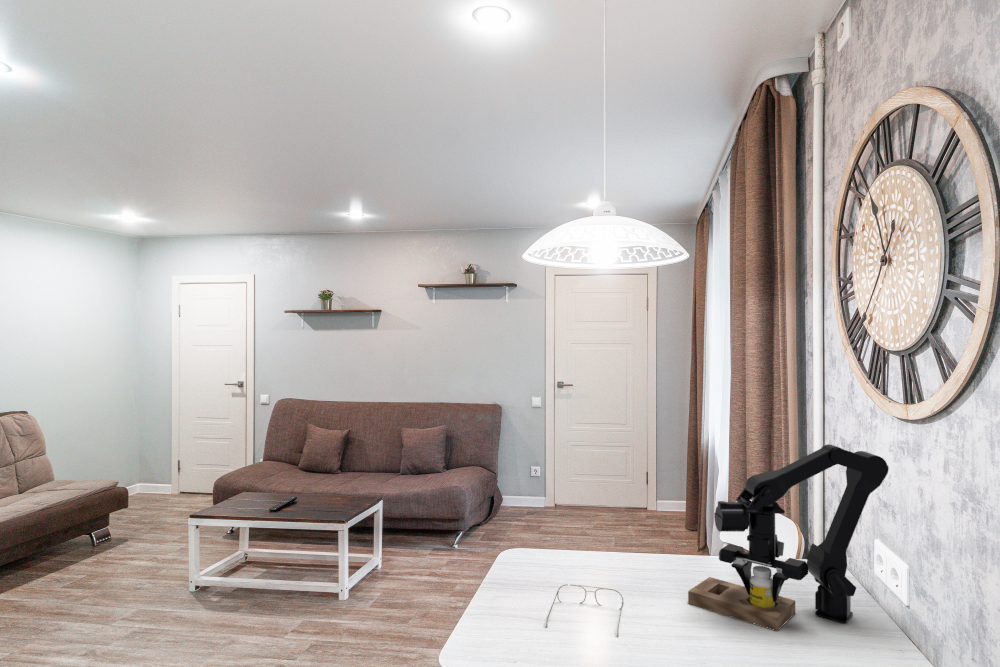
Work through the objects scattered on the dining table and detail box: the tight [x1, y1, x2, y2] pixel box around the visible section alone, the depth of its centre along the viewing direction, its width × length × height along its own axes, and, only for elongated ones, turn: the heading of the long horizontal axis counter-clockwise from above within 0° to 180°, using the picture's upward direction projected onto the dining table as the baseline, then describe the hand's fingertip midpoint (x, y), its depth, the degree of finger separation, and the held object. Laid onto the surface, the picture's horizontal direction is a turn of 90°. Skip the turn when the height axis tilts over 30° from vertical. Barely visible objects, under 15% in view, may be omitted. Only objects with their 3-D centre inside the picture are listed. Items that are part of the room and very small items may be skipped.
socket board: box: [687, 576, 796, 631], centre depth 149 cm, size 21×12×3 cm, turn 47°
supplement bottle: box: [750, 565, 775, 608], centre depth 145 cm, size 5×5×10 cm
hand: (762, 597), depth 145 cm, fingers closed on supplement bottle, 5 cm apart
